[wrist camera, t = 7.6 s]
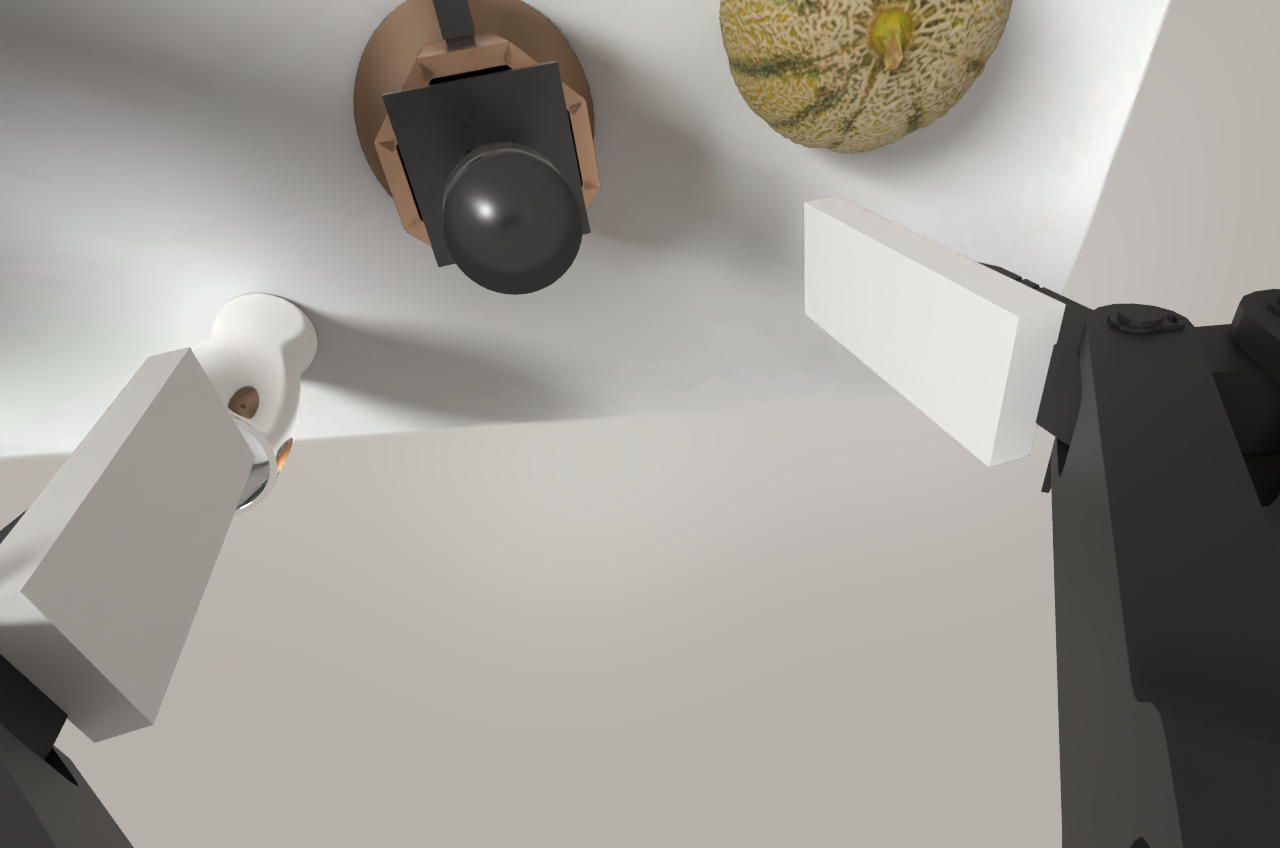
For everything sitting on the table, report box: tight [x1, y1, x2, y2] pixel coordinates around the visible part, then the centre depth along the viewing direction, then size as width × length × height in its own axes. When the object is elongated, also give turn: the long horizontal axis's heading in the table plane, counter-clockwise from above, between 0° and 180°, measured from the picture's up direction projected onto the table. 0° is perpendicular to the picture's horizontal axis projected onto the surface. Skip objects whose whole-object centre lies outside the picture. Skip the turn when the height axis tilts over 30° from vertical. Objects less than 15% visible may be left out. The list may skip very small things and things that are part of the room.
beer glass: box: [191, 294, 317, 516], centre depth 38 cm, size 7×7×15 cm
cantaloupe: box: [719, 0, 1012, 153], centre depth 35 cm, size 15×15×15 cm
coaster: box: [354, 0, 594, 199], centre depth 40 cm, size 14×14×1 cm
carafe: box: [374, 0, 601, 267], centre depth 34 cm, size 9×12×13 cm
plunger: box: [443, 71, 582, 294], centre depth 30 cm, size 6×6×21 cm
